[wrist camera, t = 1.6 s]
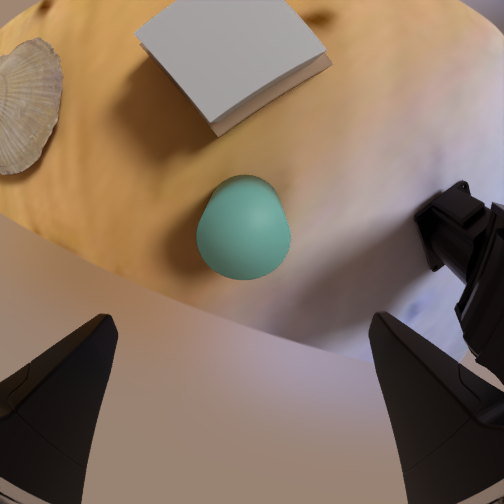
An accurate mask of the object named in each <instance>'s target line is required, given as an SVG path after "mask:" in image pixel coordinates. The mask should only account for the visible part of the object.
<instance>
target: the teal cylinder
mask: <svg viewBox="0 0 504 504" xmlns="http://www.w3.org/2000/svg"><path fill="white" fill-rule="evenodd" d="M290 238H291V235H290V229H289V225H288V222H287V219H286V216H285V213H284V211H283V208H282V205H281V202H280V200H279V197H278V195H277V193H276V191H275V190H274V188H273V187H272V186H271V185H270V184H269V183H268V182H266V181H265V180H263V179H261V178H259V177H256V176H252V175H238V176H234V177H231V178H229V179H227V180H225V181H223V182H222V183H221V184H220V185H219V186H218V187H217V188H216V189H215V191H214V192H213V194H212V196H211V198H210V200H209V202H208V204H207V206H206V209H205V211H204V213H203V215H202V217H201V219H200V221H199V224H198V227H197V233H196V241H197V246H198V250H199V252H200V255H201V256H202V258H203V260H204V261H205V262H206V264H207V265H208V266H209V267H210V268H211V269H213V270H214V271H215V272H217V273H219V274H220V275H223V276H225V277H228V278H231V279H236V280H251V279H256V278H260V277H263V276H265V275H267V274H269V273H270V272H272V271H273V270H275V269H276V268H277V267H278V266H279V265H280V264H281V263H282V262H283V260H284V258H285V257H286V255H287V253H288V250H289V247H290Z"/></svg>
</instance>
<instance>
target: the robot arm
mask: <svg viewBox="0 0 504 504" xmlns="http://www.w3.org/2000/svg"><path fill="white" fill-rule="evenodd" d="M463 186H464V188H463ZM420 217H422V218H421V220H419V219H420ZM414 220H415V223H416V226H417V229H418V232H419V235H420V238H421V241H422V244H423V247H424V250H425V253H426V257H427V260H428V264H429V267H430V269H431V270H432V271H433V272H436V271H437V270H439V269H440V268H441V267H443V266H444V265H446V266H447V267H448V268H449V269H450V270H451V271H452V272H453V273H454V274H455V275H456V276H457V277H458V278H459V279H460V280H461V281H462V282H463V283H464V284H465V285H466V287H465V289H464V291H463V294H462V296H461V298H460V300H459V302H458V303H457V304H456V306H455V308H454V310H455V312H456V315H457V317H458V320H459V323H460V326H461V328H462V331H463V338H464V341H465V342H466V344H467V345H468V348H469V349H470V351H471V353H472V354H473V355H474V356H475V357H476V359H475V361H476V363H478V364H480V365H482V366H484V367H486V368H487V369H488V370H490V371H491V372H492V373H493V374H495V375H496V377H497V378H498V379H499V380H500V381H501V382H502V384H503V385H504V205H501V204H498V203H494V202H492V205H491V209H489V208H487V207H486V206H485V204H484V203H483V202H482V201H480V200H478V199H476V198H474V197H472V196H471V194H470V190H469V185H468V183H467V182H466V181H463V180H462V181H460V182H459V183H457V184H456V185H455V186H454V187H451V188H450V189H449V190H447V191H446V192H445V193H443V194H442V195H441V196H439V197H438V198H436V199H435V200H434V201H433V202H432V203H431V204H429V205H428V206H426V207H425V208H424V209H422V210H421V211H419V212H418V213H417V214H416V215H415V218H414ZM434 266H435V267H434ZM117 340H118V331H117V329H116V326H115V324H114V321H113V319H112V316H111V315H109V314H98V315H97V316H95V317H94V318H93V319H91V320H90V321H88V322H87V323H85V324H84V325H82V326H81V327H79V328H78V329H76V330H75V331H73V332H72V333H71V334H69V335H68V336H66V337H65V338H63V339H62V340H61V341H59V342H58V343H56V344H55V345H53V346H52V347H51V348H49V349H48V350H46V351H45V352H43V353H42V354H41V355H39V356H38V357H36V358H35V359H34V360H32V361H31V363H28V364H27V365H26V366H24V367H22V368H21V369H20V370H18V371H17V372H15V373H14V374H12V375H11V376H9V377H8V378H6V379H5V380H3V381H2V382H0V504H81V501H82V494H83V486H84V481H85V475H86V468H87V463H88V458H89V453H90V449H91V444H92V439H93V435H94V431H95V427H96V423H97V418H98V415H99V411H100V407H101V404H102V400H103V397H104V393H105V390H106V386H107V383H108V380H109V376H110V372H111V368H112V363H113V359H114V353H115V349H116V345H117ZM369 340H370V345H371V349H372V354H373V359H374V364H375V369H376V373H377V377H378V380H379V383H380V387H381V390H382V393H383V397H384V400H385V403H386V407H387V410H388V414H389V418H390V421H391V425H392V429H393V433H394V437H395V440H396V445H397V449H398V454H399V458H400V463H401V467H402V472H403V477H404V483H405V488H406V494H407V500H408V504H504V392H503V391H501V390H499V389H498V388H496V387H495V386H493V385H491V384H489V383H488V382H486V381H485V380H483V379H482V378H480V377H478V376H477V375H475V374H474V373H473V372H471V371H470V370H468V369H467V368H466V367H464V366H463V365H462V364H460V363H459V364H458V362H457V361H456V360H455V359H453V358H452V357H450V356H449V355H448V354H446V353H445V352H443V351H442V350H441V349H439V348H438V347H437V346H435V345H434V344H432V343H431V342H429V341H428V340H427V339H425V338H424V337H422V336H421V335H420V334H418V333H417V332H415V331H414V330H412V329H411V328H410V327H408V326H407V325H405V324H404V323H402V322H401V321H399V320H398V319H397V318H395V317H394V316H392V315H391V314H389V313H388V312H385V311H384V312H376V313H375V314H374V316H373V319H372V322H371V325H370V328H369Z"/></svg>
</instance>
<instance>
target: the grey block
mask: <svg viewBox="0 0 504 504" xmlns="http://www.w3.org/2000/svg"><path fill="white" fill-rule="evenodd" d="M134 34H135V35H136V37H137V38H138V39H139V40H140V41H141V42H142V43H143V44H144V45H145V46H146V48H147V49H148V50H149V51H150V52H151V53H152V54H153V55H154V56H155V58H156V59H157V60H158V61H159V62H160V63H161V64H162V66H163V67H164V68H165V69H166V70H167V71H168V73H169V74H170V75H171V76H172V77H173V78H174V80H175V81H176V82H177V83H178V84H179V85H180V87H181V88H182V89H183V90H184V91H185V93H186V94H187V95H188V96H189V97H190V99H191V100H192V101H193V102H194V103H195V105H196V106H197V107H198V108H199V110H200V111H201V112H202V113H203V114H204V116H205V117H206V118H207V119H208V121H209V122H210V123H214V122H219V121H221V120H222V119H223V118H225V117H226V116H228V115H229V114H230V113H232V112H233V111H235V110H236V109H237V108H239V107H240V106H242V105H243V104H245V103H246V102H248V101H249V100H251V99H252V98H254V97H255V96H257V95H258V94H260V93H262V92H263V91H265V90H266V89H268V88H269V87H271V86H273V85H274V84H276V83H278V82H279V81H281V80H283V79H284V78H286V77H288V76H289V75H291V74H293V73H295V72H296V71H298V70H300V69H302V68H304V67H305V66H307V65H309V64H311V63H313V62H314V61H315V60H316V59H318V58H319V57H320V56H321V55H322V54H323V53H324V52H326V51H327V49H326V48H325V47H324V45H323V44H322V43H321V42H320V40H319V39H318V38H317V37H316V35H315V34H314V33H313V32H312V31H311V29H310V28H309V27H308V26H307V25H306V24H305V22H304V21H303V20H302V19H301V18H300V17H299V16H298V15H297V13H296V12H295V11H294V10H293V9H292V8H291V7H290V6H289V5H288V4H287V3H286V2H285V1H284V0H177V1H175V2H174V3H172V4H171V5H170V6H168V7H167V8H165V9H164V10H162V11H161V12H160V13H158V14H157V15H156V16H154V17H153V18H152V19H150V20H149V21H148V22H147V23H145V24H144V25H143V26H142V27H140V28H139V29H138V30H137V31H136V32H134Z"/></svg>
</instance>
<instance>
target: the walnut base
mask: <svg viewBox="0 0 504 504" xmlns="http://www.w3.org/2000/svg"><path fill="white" fill-rule="evenodd" d="M140 46H141V47H142V48H143V49H144V50H145V51H146V52H147V54H148V55H149V56H150V57H151V58H152V59H153V60H154V61H155V63H156V64H157V65H158V66H159V67H160V68H161V69H162V70H163V72H164V73H165V74H166V75H167V76H168V77H169V79H170V80H171V81H172V82H173V83H174V84H175V86H176V87H177V88H178V89H179V90H180V91H181V93H182V94H183V95H184V96H185V97H186V98H187V100H188V101H189V102H190V103H191V104H192V106H193V107H194V108H195V109H196V110H197V112H198V113H199V114H200V115H201V117H202V118H203V119H204V120H205V121H206V123H207V124H208V125H209V126H210V128H211V129H212V130H213V131H214V133H215V134H216V135H217V136H218V137H220V136H223V135H224V134H225V133H227V132H228V131H229V130H231V129H232V128H234V127H235V126H236V125H238V124H239V123H241V122H242V121H244V120H245V119H246V118H248V117H249V116H251V115H252V114H254V113H255V112H257V111H258V110H260V109H261V108H263V107H264V106H266V105H267V104H269V103H270V102H272V101H273V100H275V99H277V98H278V97H280V96H281V95H283V94H285V93H286V92H288V91H289V90H291V89H293V88H294V87H296V86H298V85H299V84H301V83H303V82H305V81H306V80H308V79H310V78H312V77H313V76H315V75H317V74H319V73H320V72H322V71H324V70H325V69H327V68H328V67H330V66H332V65H333V63H332V61H331V60H330V59H329V57H328V56H327V55H326V54H325V52H324V53H323V54H322V55H321V56H320V57H319V58H318V59H316V60H315V61H314V62H313V63H311V64H309V65H307V66H305V67H304V68H302V69H300V70H298V71H296V72H295V73H293V74H291V75H289V76H288V77H286V78H284V79H283V80H281V81H279V82H278V83H276V84H274V85H273V86H271V87H269V88H268V89H266V90H265V91H263V92H262V93H260V94H258V95H257V96H255V97H254V98H252V99H251V100H249V101H248V102H246V103H245V104H243V105H242V106H240V107H239V108H237V109H236V110H235V111H233V112H232V113H230V114H229V115H228V116H226V117H225V118H223V119H222V120H221V121H219V122H214V123H210V122H209V121H208V119H207V118H206V117H205V116H204V114H203V113H202V112H201V111H200V110H199V108H198V107H197V106H196V105H195V103H194V102H193V101H192V100H191V99H190V97H189V96H188V95H187V94H186V93H185V91H184V90H183V89H182V88H181V87H180V85H179V84H178V83H177V82H176V81H175V80H174V78H173V77H172V76H171V75H170V74H169V73H168V71H167V70H166V69H165V68H164V67H163V66H162V64H161V63H160V62H159V61H158V60H157V59H156V58H155V56H154V55H153V54H152V53H151V52H150V51H149V50H148V49H147V48H146V46H145V45H144V44H143V43H141V44H140Z"/></svg>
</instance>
